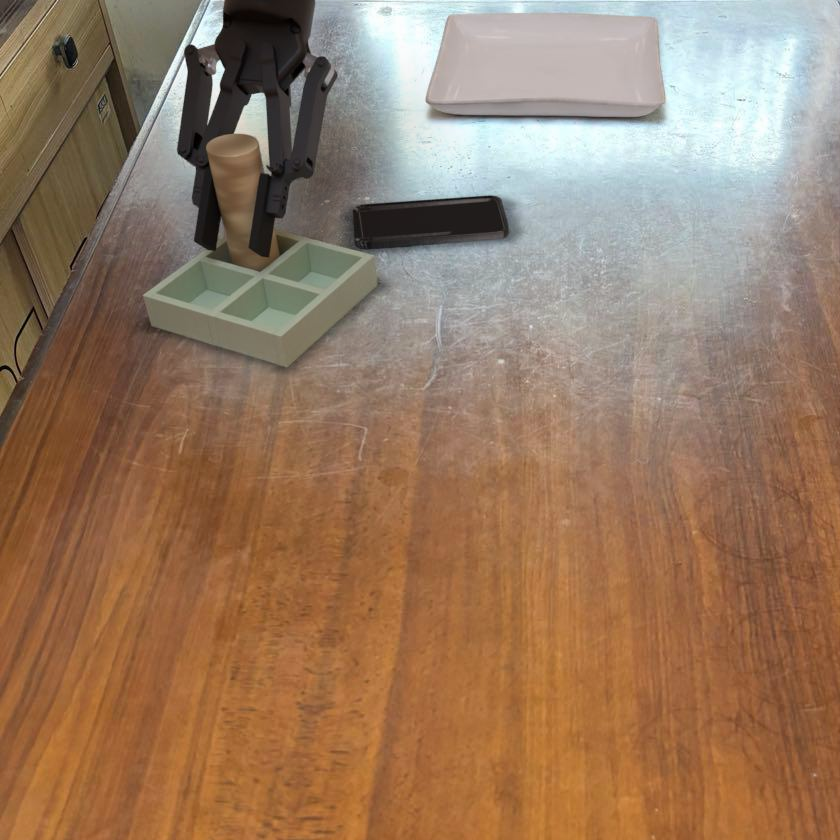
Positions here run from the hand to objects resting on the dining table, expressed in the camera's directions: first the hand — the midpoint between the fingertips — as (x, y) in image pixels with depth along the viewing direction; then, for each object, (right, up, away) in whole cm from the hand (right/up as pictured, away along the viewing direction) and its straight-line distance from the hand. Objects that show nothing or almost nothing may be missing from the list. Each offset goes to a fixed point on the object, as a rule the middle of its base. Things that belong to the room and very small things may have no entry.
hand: (231, 248), depth 96 cm
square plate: (+28, +31, +40) cm, 58 cm away
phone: (+16, +5, +14) cm, 22 cm away
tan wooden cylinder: (+1, 0, +5) cm, 5 cm away
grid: (+2, -5, +3) cm, 6 cm away
